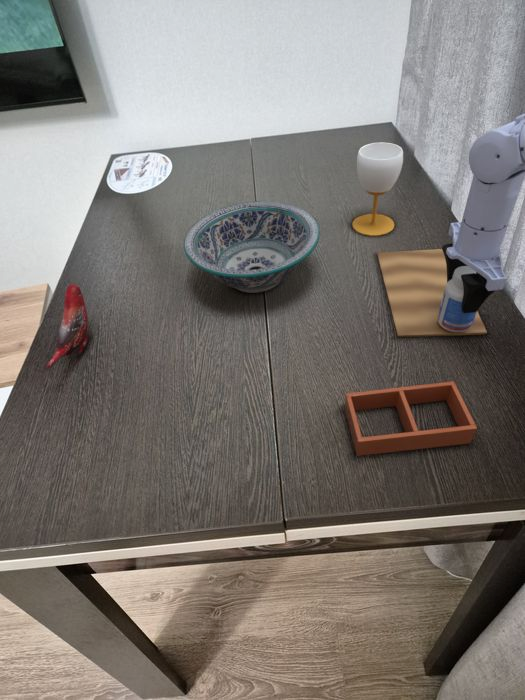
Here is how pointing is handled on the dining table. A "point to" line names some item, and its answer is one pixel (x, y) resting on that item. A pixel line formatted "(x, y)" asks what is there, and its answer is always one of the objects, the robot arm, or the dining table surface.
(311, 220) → the bowl
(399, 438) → the holder
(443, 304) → the pill bottle
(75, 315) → the decorative bird figurine
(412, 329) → the mat
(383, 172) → the cup
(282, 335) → the dining table surface
